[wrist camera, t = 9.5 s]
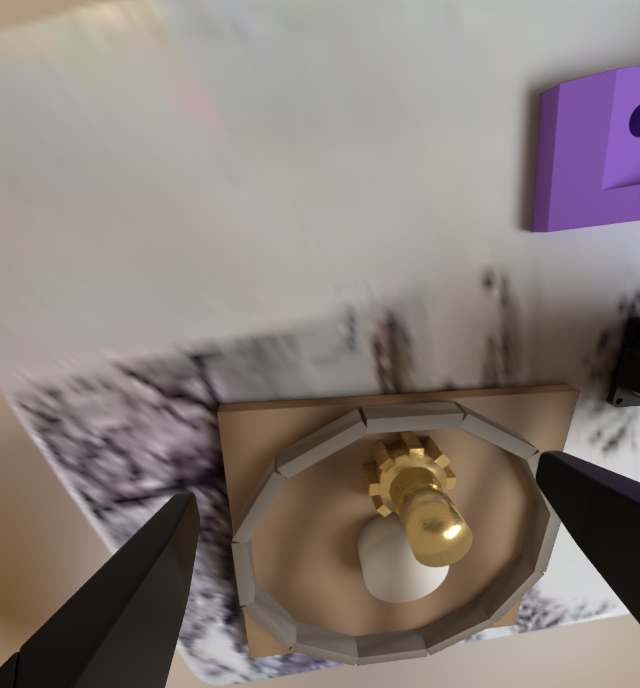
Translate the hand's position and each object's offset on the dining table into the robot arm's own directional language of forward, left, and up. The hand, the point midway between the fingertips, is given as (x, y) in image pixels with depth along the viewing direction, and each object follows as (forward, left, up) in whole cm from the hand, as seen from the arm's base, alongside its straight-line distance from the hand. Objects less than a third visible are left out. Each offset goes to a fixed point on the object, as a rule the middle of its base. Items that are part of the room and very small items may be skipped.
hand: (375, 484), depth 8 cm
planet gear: (-5, +9, -11) cm, 15 cm away
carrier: (-5, +16, -12) cm, 21 cm away
